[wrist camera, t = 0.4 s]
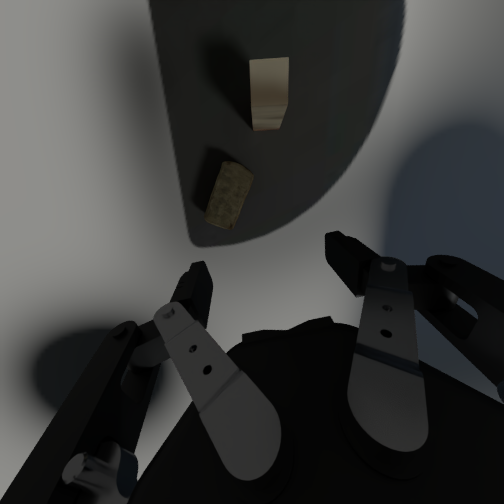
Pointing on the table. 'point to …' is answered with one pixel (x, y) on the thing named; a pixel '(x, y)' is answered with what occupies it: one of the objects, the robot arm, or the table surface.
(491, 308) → the robot arm
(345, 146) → the table surface
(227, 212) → the stone block
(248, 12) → the table surface
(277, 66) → the maple block
